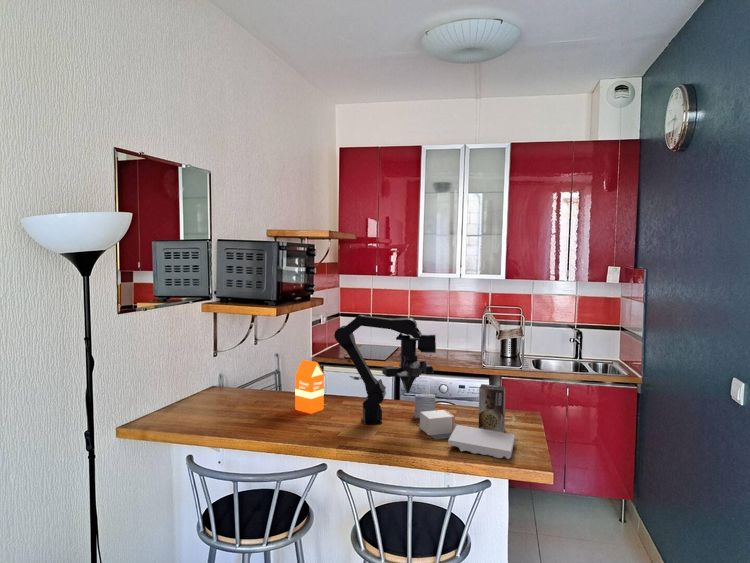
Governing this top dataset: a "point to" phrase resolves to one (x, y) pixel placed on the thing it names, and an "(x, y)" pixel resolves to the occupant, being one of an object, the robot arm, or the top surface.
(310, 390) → the orange juice
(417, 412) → the medicine box
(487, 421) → the coffee box
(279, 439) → the top surface
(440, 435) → the mat
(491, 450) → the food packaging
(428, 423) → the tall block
